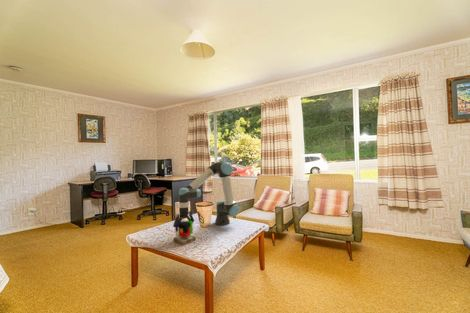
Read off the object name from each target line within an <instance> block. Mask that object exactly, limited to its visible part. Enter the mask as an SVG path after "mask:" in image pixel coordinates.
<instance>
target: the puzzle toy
mask: <svg viewBox="0 0 470 313" xmlns="http://www.w3.org/2000/svg"><path fill="white" fill-rule="evenodd" d="M178 227H179V235H176V234H175V237H178V236H179V237H188V236H189V235H191V236H192V234H193V230H194V228H193V223H192V221H189V220H184V219H182V220H181V222H180V224H179V226H178Z"/></svg>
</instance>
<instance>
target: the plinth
mask: <svg viewBox="0 0 470 313" xmlns="http://www.w3.org/2000/svg"><path fill="white" fill-rule="evenodd" d="M172 239H173V242H174V243H176V244H178V245H179V246H185V245H187V244H191V243H193V242H195V241H196V237H195V236H193V235H192V234H191V235H189V236H188V237H179V236H175V237H174V238H172Z"/></svg>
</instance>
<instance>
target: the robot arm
mask: <svg viewBox="0 0 470 313" xmlns="http://www.w3.org/2000/svg"><path fill="white" fill-rule="evenodd" d="M233 170H234V169H233V166H232V164H231V163H230V162H226V161H224V162H223V161H218V162H215V163H212V164H211V165H210V166H208V167H207V168H206V170H205V171H204V172H203V173H201V174H200V175H199V176H198V177H196V178H195V179H194V180H193V181H191V182H190V183H189V184H188V185H187V186H185V187H182V188H181V187H180V188H179V190H178V206H179V207H178V211H179V214H177V213H176V214H175V219H174V222H173V225H172V227H173V228H175V229H174V230H175V236H176V235H179V227H178V226H179V224H180V222H181V221H182V220H184V219H187V221H192V224H193V223H194V222H195V218H194V217H193V214H192V211H190V210H189V200H190V199H197V198H200V197H201V196H202V191H201V189H199V187H201V186H202V185H203V184H204V183H205V182H206V181H208V180H209V179H210V178H211V177H214V176H215V175H218V177H219V178H220V179H221V185H222V192H223V196H224V200H219V201H216V205H215V206H216V218H215V221H214V223H215V225H216V226H227V225H230V223H231V221H230V219H229V218H230V217H235V216H237V215H238V214H239V212H240V207H239V205H238V204H237V203H236V202H237V201H236V200H235V199H234V195H233V187H232V182H231V176H232V172H233Z"/></svg>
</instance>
